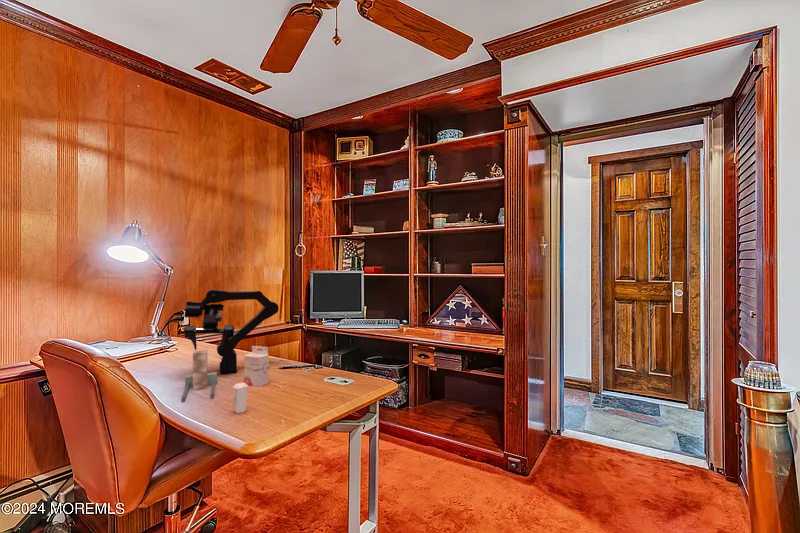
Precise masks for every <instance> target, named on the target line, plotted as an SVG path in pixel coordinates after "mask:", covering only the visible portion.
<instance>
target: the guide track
mask: <svg viewBox="0 0 800 533" xmlns="http://www.w3.org/2000/svg"><path fill="white" fill-rule="evenodd" d="M184 379H185V380H184V381H185V383H184V390H183V394H182V396H181V403H185V402H186V400H187V396H188V394H189V391H190V388H193V373H192V374H187V375H186V374H185V378H184ZM207 379H208V386H211V387H210V388H211V389H210V399H211V400H212V399H214V398H215V390H216V386H217V384H218V372H217V371H216V372H215V371H213V372H207Z"/></svg>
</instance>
